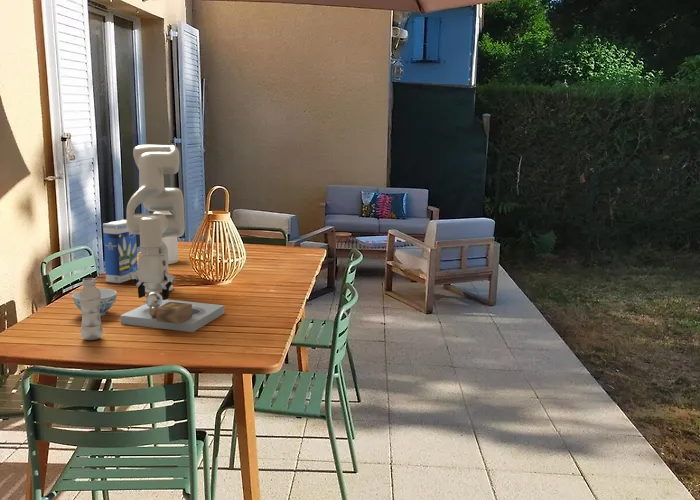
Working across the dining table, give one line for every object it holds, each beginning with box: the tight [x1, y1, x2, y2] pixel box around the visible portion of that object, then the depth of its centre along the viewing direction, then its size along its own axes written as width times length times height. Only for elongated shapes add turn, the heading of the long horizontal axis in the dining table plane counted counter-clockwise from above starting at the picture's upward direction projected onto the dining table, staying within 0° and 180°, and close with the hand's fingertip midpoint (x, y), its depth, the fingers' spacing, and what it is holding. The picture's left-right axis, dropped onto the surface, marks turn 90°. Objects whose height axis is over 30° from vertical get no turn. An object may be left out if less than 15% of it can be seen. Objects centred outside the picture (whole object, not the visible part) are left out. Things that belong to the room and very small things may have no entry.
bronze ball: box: [149, 306, 158, 317], centre depth 222 cm, size 4×4×4 cm
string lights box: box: [102, 219, 138, 284], centre depth 282 cm, size 13×8×26 cm, turn 161°
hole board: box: [120, 298, 225, 333], centre depth 231 cm, size 28×23×3 cm
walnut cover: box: [156, 302, 192, 324], centre depth 219 cm, size 9×9×5 cm
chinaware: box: [71, 288, 118, 317], centre depth 233 cm, size 15×15×8 cm
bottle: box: [152, 211, 179, 265], centre depth 317 cm, size 14×14×28 cm
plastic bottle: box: [79, 277, 104, 341], centre depth 206 cm, size 6×7×20 cm
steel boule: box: [144, 292, 163, 308], centre depth 232 cm, size 6×6×6 cm
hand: (153, 298), depth 231 cm, fingers open, 9 cm apart
